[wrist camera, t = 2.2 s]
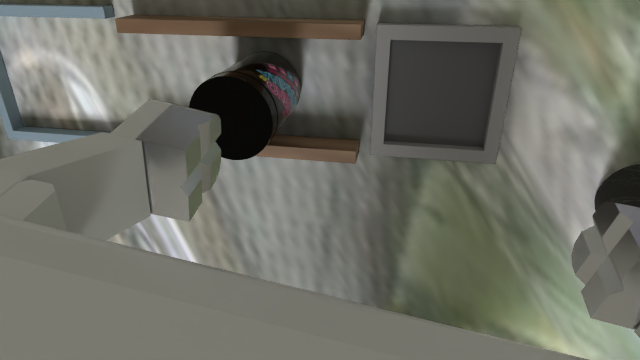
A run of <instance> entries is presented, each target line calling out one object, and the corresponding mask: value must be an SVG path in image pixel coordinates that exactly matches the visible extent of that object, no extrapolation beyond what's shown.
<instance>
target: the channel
mask: <svg viewBox="0 0 640 360" xmlns="http://www.w3.org/2000/svg"><path fill="white" fill-rule="evenodd" d="M115 21H116V26H117V32H118V33H145V34H178V35H212V36H246V37H280V38H314V39H348V40H361V38H362V36H363V35H364V20H337V19H293V18H248V17H203V16H159V15H131V16H126V17H121V18H116V19H115ZM358 153H359V140H351V139H335V138H320V137H305V136H289V135H274V137H273V138H272V140H271V141H270V142H269V143H268V144H267V145H266V147H265V148H264V149H263V150H262V151H261V152H260V153H258V154H257V155H255V156H261V157H274V158H288V159H301V160H315V161H328V162H342V163H355V164H356V160H357V156H358Z"/></svg>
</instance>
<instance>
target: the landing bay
mask: <svg viewBox="0 0 640 360" xmlns="http://www.w3.org/2000/svg"><path fill="white" fill-rule="evenodd" d="M0 16H19V17H61V18H102V19H106V18H111V17H115V16H114V11H113V6H108V5H55V4H2V3H0ZM0 117H1V120H2V123H3V126H4V129H5V132H6V135H7V138H8V139H17V140H30V141H43V142H57V143H63V142H66V141H70V140H74V139H78V138H82V137H86V136H89V135H93V134H97V133H101V132H97V131H83V130H68V129H54V128H39V127H25V126H23V124H22V120H21V117H20V114H19V111H18V108H17V104H16V101H15V98H14V95H13V91H12V88H11V85H10V82H9V78H8V75H7V72H6V69H5V65H4V62H3V59H2V56H1V52H0ZM104 133H109V134H110V133H111V132H104Z"/></svg>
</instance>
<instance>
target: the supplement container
mask: <svg viewBox="0 0 640 360" xmlns="http://www.w3.org/2000/svg"><path fill="white" fill-rule="evenodd" d="M299 98H300V82H299V78H298V75H297V73H296V71H295V70H294V68H293V67H292V65H291V64H290V63H289V62H288V61H287V60H285V59H284V58H282V57H281V56H279V55H277V54H274V53H270V52H257V53H253V54H251V55H249V56H247V57H246V58H244V59H242V60H241V61H239V62H237V63H236V64H234V65H232V66H231V67H229V68H227V69H226V70H224V71H222V72H221V73H218V74H216V75H214V76H212V77H211V78H210V79H208V80H207V81H205V82H203V83H202V84H201V85H200V86H199V87H198V88H197V89H196V90H195V92H194V94H193V96H192V98H191V101H190V106H189V108H192V109H196V110H200V111H204V112H208V113H213V114H217V115H218V116H219V117H220V119H221V134H220V136H219V137H218V138H217V140H216V141H215V142H216V143H217V145H218V146H219V148H220V149H221V157H223V158H226V159H231V160H243V159H248V158H251V157H253V156H255V155H257V154H258V153H260V152H261V151H262V150H263V149H264V148H265V147H266V145H267V144H268V143H269V142H270V141H271V140H272V138H273V137H274V135H275V133H276V132H277V131H278V129H279V128H280V127H281V125H282V124H283V123H284V121H285V120H286V119H287V118H288V116H289V115H290V114H291V112H292V111H293V110H294V108H295V107H296V105H297V103H298V101H299Z"/></svg>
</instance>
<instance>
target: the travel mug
mask: <svg viewBox="0 0 640 360" xmlns="http://www.w3.org/2000/svg"><path fill="white" fill-rule="evenodd" d="M606 201H608V202H614V203H619V204H624V205H629V206H634V207H639V208H640V165H634V166H630V167H626V168H624V169H621V170H619V171H617V172H615V173H614V174H612V175H611V176H610V177H608V178H607V179H606V180H605V181H604V182H603V183H602V185H601V186H600V188H599V189H598V191H597V194H596V197H595V210H597V209H598V207H599V206H600V205H602V204H603V203H604V202H606Z"/></svg>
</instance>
